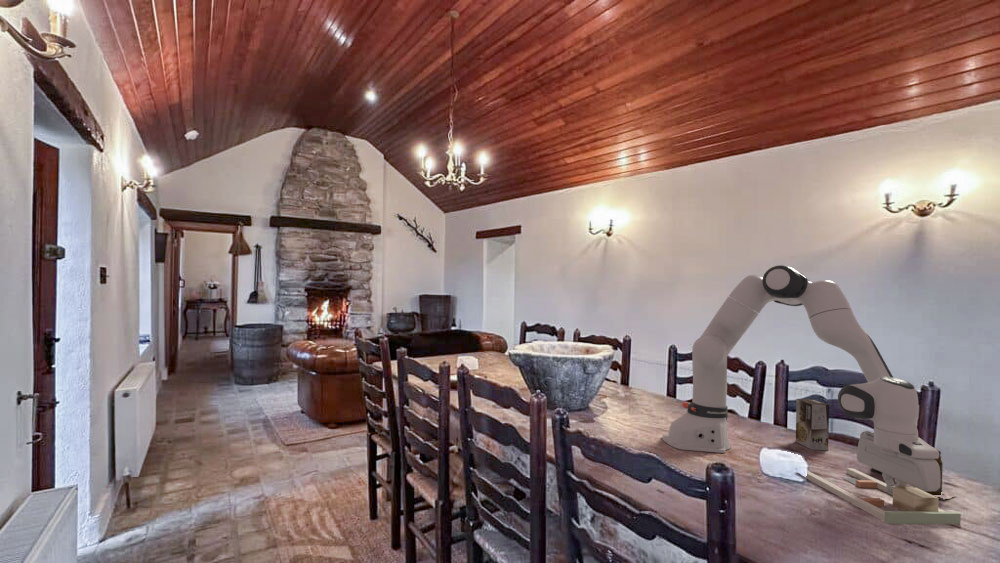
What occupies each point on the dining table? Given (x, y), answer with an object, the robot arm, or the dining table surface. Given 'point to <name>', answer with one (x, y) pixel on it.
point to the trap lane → (873, 503)
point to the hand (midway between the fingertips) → (894, 493)
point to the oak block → (914, 500)
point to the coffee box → (812, 424)
